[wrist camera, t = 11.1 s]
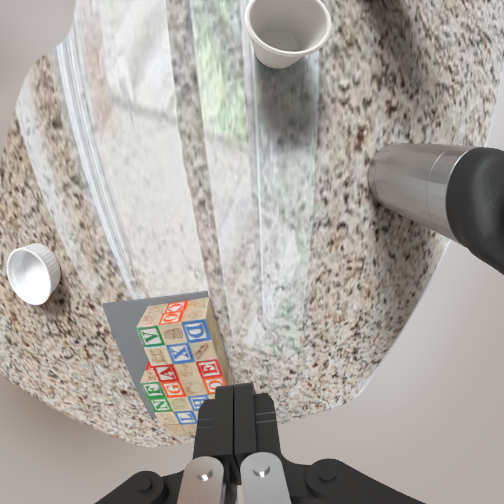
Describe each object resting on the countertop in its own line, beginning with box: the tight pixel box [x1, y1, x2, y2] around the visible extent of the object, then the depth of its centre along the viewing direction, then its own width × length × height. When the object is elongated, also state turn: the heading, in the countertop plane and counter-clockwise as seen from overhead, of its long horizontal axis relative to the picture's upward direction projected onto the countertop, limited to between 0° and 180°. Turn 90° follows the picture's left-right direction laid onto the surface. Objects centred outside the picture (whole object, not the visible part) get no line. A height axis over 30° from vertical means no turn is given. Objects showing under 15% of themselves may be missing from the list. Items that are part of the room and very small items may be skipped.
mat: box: [103, 291, 208, 418], centre depth 46 cm, size 16×24×1 cm, turn 8°
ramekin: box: [7, 243, 61, 305], centre depth 38 cm, size 9×9×4 cm
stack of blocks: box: [136, 297, 235, 436], centre depth 42 cm, size 21×6×12 cm
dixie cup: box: [244, 0, 332, 69], centre depth 28 cm, size 8×8×10 cm
